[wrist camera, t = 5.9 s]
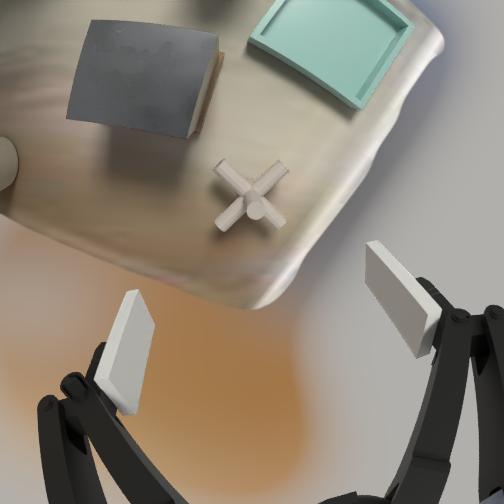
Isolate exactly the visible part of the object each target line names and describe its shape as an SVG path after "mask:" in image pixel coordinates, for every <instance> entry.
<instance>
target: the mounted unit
mask: <svg viewBox="0 0 504 504" xmlns="http://www.w3.org/2000/svg"><path fill="white" fill-rule="evenodd" d="M223 58H224V53H223V52H219V40H218V34H214V33H209V32H204V31H199V30H193V29H188V28H182V27H175V26H169V25H161V24H153V23H143V22H132V21H116V20H91V23H90V26H89V29H88V32H87V35H86V38H85V41H84V45H83V48H82V51H81V55H80V58H79V62H78V65H77V69H76V73H75V77H74V81H73V86H72V90H71V95H70V100H69V104H68V110H67V115H66V119H70V120H79V121H86V122H94V123H101V124H107V125H114V126H120V127H126V128H132V129H138V130H143V131H149V132H154V133H159V134H164V135H169V136H174V137H178V138H183V139H187V138H188V137H189V136H190V135H191V134H192V133H193V132H196V133H201V130H202V126H203V123H204V119H205V116H206V112H207V109H208V105H209V102H210V99H211V95H212V92H213V89H214V86H215V82H216V79H217V76H218V73H219V70H220V67H221V64H222V61H223Z"/></svg>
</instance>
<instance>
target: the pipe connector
mask: <svg viewBox="0 0 504 504" xmlns="http://www.w3.org/2000/svg"><path fill="white" fill-rule="evenodd" d="M213 171H214V172H215V173H216V174H217V175H218V176H219V177H220V178H221V179H222V180H223V181H224V182H225V183H226V184H228V185H229V186H230V187H231V188H232V189H233V190H234V191H235V192H236V193H237V194H238V195H239V197H238V198H237V199H236V200H235V201H234V202H233V203H232V204H231V205H230V206H229V207H228V208H227V209H226V210H225V211H224V212H223V213H222V214H221V215H220V216H219V217H218V218H217V219H215V220H214V222H215V224H216V225H217V227H218V228H219V229H221V230H222V231H224V232H225V231H226V230H227V229H228V228H229V227H231V226H232V225H233V224H234V223H235V222H236V221H237V220H238V219H239V218H240V217H241V216H242V215H243V214H244V213H245V212H247V215H248V216H249V217H250V218H251V219H254V220H257V219H260V218H262V217H263V218H264V219H265V220H266V221H267V222H268V223H269V224H270V225H271V226H272V227H273V228H274V229H275V230H278V229H280V228H281V227H282V226H283V225H284V224H285V222H286V218H285V217H284V216H283V215H282V214H281V213H280V212H279V211H278V210H277V209H276V208H275V207H274V206H273V205H272V204H271V203H270V202H269V201H268V200H267V199H266V198H265V197H264V196H263V195H265V194H266V193H267V192H268V191H269V190H270V189H271V188H272V187H273V186H274V185H275V184H276V183H278V182H279V181H280V180H281V179H282V178H283V177H284V176H285V175H286V174H287V173H288V172H290V171H289V170H288V169H287V168H286V166H285V165H284V164H283V163H282V162H281V161H280V160H278V161H277V162H275V163H274V164H273V165H272V166H271V167H270V168H269V169H268V170H267V171H266V172H265V173H264V174H262V175H261V176H260V177H259V178H258V179H257V180H256V181H255V182H254V181H253V179H252V178H250V177H243V176H242V175H241V174H240V173H239V172H238V171H237V170H236V169H235V168H234V167H233V166H232V165H231V164H229V163H228V162H227V161H226V160H225V159H223V160H221V161H220V162H219V163H218V164H217V165H216V166H215V168H214V169H213Z"/></svg>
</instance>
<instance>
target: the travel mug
mask: <svg viewBox="0 0 504 504" xmlns="http://www.w3.org/2000/svg"><path fill="white" fill-rule="evenodd" d="M17 170H18V157H17V152H16V149H15V147H14V145H13V144H12V143H11V141H10V140H8V139H7V138H5V137H0V191H1V190H3V189H4V188H6V187H8V186H9V185H11V184H12V182H13V181H14V179H15V177H16V174H17Z"/></svg>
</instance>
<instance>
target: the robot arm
mask: <svg viewBox="0 0 504 504" xmlns="http://www.w3.org/2000/svg"><path fill="white" fill-rule="evenodd" d="M365 273H366V274H365V283H366V284H367V286H368V287H369V288H370V290H371V291H372V293H373V294H374V296H375V297H376V299H377V300H378V301H379V303H380V304H381V305H382V307H383V309H384V310H385V312H386V313H387V315H388V316H389V318H390V319H391V320H392V322H393V323H394V325H395V326H396V328H397V329H398V331H399V332H400V334H401V336H402V337H403V339H404V340H405V342H406V343H407V345H408V346H409V348H410V349H411V351H412V353H413V354H414V356H415V357H416V359H417V358H419V357H422V356H425V355H427V354H429V353H430V351H431V347H432V345H433V346H434V348H435V349H436V353H435V356H434V358H433V361H432V364H431V365H432V369H431V373H430V377H429V381H428V385H427V388H426V393H425V396H424V399H423V402H422V406H421V409H420V412H419V415H418V419H417V422H416V424H415V427H414V430H413V433H412V436H411V438H410V441H409V444H408V447H407V449H406V452H405V454H404V457H403V459H402V462H401V464H400V466H399V469H398V471H397V474H396V476H395V478H394V479H393V481H392V483H391V485H390V487H389V488H388V490H387V492H386V494H385V497H384V498H381V497H377V496H371V495H357V493H356V491H355V492H351V493H348V494H345V495H341V496H337V497H334V498H330V499H327V500H325V501H323V502H321V503H319V504H438V503H439V500H440V498H441V495H442V492H443V490H444V487H445V484H446V481H447V478H448V475H449V472H450V468H451V463H450V462H449V459H450V455H451V452H452V448H453V444H454V441H455V437H456V433H457V429H458V424H459V420H460V415H461V410H462V405H463V400H464V394H465V388H466V382H467V375H468V367H469V359H470V357H471V362H472V368H473V375H474V383H475V390H476V400H477V412H478V427H479V490H478V492H479V504H504V309H503V308H502V307H500V306H498V305H489V306H488V307H487V308H486V309H485V311H484V314H482V315H470V313H468V312H467V311H466V310H463V309H457V308H454V307H453V306H452V305H451V304H450V303H449V302H448V300H446V298H445V297H444V296H443V295H442V294H441V293H440V292H439V291H438V290H437V289H436V288H435V287H434V285H432V283H431V282H430V281H428V280H426V279H424V278H422V277H419V278H416V279H415V278H413V276H412V275H411V274H410V273H409V272H408V271H407V270H406V269H405V268H404V267H403V266H402V265H401V264H400V263H399V262H398V260H397V259H396V258H395V257H394V256H393V255H392V254H391V253H390V252H389V251H388V250H387V249H386V248H385V247H384V246H383V245H382V244H381V243H380V242H379V241H378V240H376V241H372V242H368V243H366V272H365ZM154 328H155V324H154V322H153V320H152V318H151V316H150V313H149V312H148V309H147V307H146V305H145V302H144V300H143V298H142V296H141V293H140V291H139V289H136V290H132V291H127V293H126V295H125V297H124V300H123V302H122V305H121V307H120V309H119V312H118V314H117V317H116V320H115V322H114V325H113V327H112V330H111V332H110V335H109V338H108V341H107V342H101V344H100V345H99V346H98V347H97V348H96V350H95V352H94V355H93V358H92V360H91V364H90V366H89V368H88V371H87V374H86V377H85V378H84V376H83V375H82V374H81V373H79V372H72V373H70V374H68V375H67V376H66V377H64V379H63V380H62V382H61V385H60V389H61V391H62V392H63V393H64V394H65V396H66V397H67V398H66V399H62V400H58V399H57V398H56V397H55V396H54V395H47V396H45V397H43V398H42V399H41V401H40V402H39V404H38V407H37V415H38V432H39V444H40V453H41V461H42V469H43V475H44V480H45V486H46V492H47V497H48V502H49V504H107V501H106V498H105V496H104V493H103V489H102V487H101V483H100V480H99V477H98V474H97V470H96V467H95V463H94V459H93V456H92V452H91V448H90V444H89V440H88V437H89V439H90V441H91V443H92V444H93V446H94V448H95V450H96V452H97V453H98V455H99V457H100V458H101V460H102V462H103V463H104V465H105V466H106V468H107V469H108V471H109V473H110V474H111V476H112V477H113V479H114V480H115V482H116V483H117V485H118V486H119V488H120V489H121V491H122V492H123V494H124V495H125V496H126V498H127V499H128V501H129V502H130V503H131V504H189V503H188V502H187V501H186V500H185V499H184V498H183V497H182V496H181V495H180V494H179V493H178V492H177V491H176V490H175V489H174V488H173V487H172V485H171V484H170V483H169V482H168V481H167V480H166V479H165V477H164V476H163V475H162V474H161V473H160V472H159V471H158V469H157V468H156V467H155V466H154V465H153V464H152V462H151V461H150V460H149V459H148V457H147V456H146V455H145V453H144V452H143V451H142V450H141V448H140V447H139V446H138V444H136V442H135V441H134V439H133V438H132V437H131V435H130V434H129V432H128V431H127V430H126V428H125V427H124V425H123V424H122V423H121V421H120V420H119V418H118V417H117V416H116V412H117V409H118V410H119V411H120V412H121V414H122V415H137V411H138V405H139V399H140V394H141V389H142V384H143V379H144V373H145V369H146V363H147V359H148V354H149V350H150V345H151V341H152V336H153V332H154Z"/></svg>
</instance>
